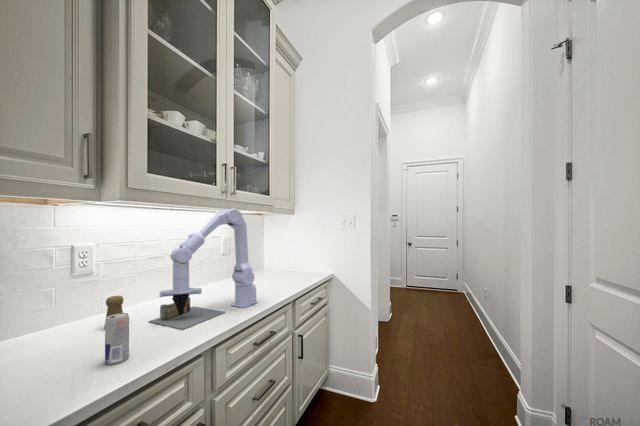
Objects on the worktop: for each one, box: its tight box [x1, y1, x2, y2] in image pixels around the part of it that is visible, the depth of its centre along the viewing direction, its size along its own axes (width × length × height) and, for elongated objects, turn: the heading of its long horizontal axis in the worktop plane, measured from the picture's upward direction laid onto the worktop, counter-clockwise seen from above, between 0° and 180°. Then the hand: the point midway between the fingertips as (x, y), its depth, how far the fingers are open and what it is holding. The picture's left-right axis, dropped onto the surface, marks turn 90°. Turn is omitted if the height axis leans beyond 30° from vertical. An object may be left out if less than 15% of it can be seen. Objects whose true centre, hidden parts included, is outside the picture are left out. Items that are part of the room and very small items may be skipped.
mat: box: [148, 306, 226, 331], centre depth 110 cm, size 20×19×1 cm
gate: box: [160, 296, 191, 319], centre depth 111 cm, size 2×12×5 cm, turn 155°
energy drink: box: [104, 312, 130, 365], centre depth 77 cm, size 5×5×12 cm
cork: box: [103, 295, 124, 330], centre depth 101 cm, size 6×6×11 cm
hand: (181, 314), depth 107 cm, fingers closed
